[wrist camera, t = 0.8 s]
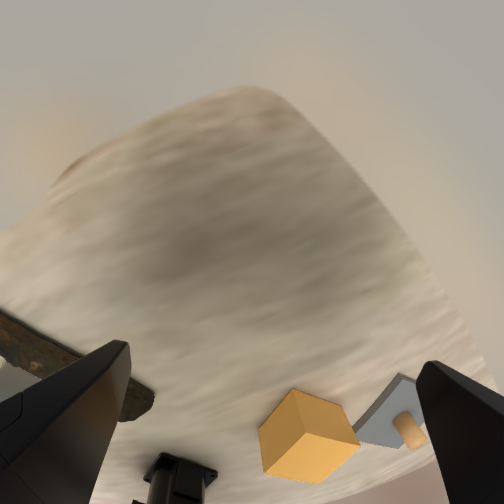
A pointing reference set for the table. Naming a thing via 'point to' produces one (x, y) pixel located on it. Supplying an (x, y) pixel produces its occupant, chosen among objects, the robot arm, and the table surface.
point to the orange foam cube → (306, 438)
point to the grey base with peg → (394, 417)
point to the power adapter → (14, 380)
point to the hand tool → (60, 364)
